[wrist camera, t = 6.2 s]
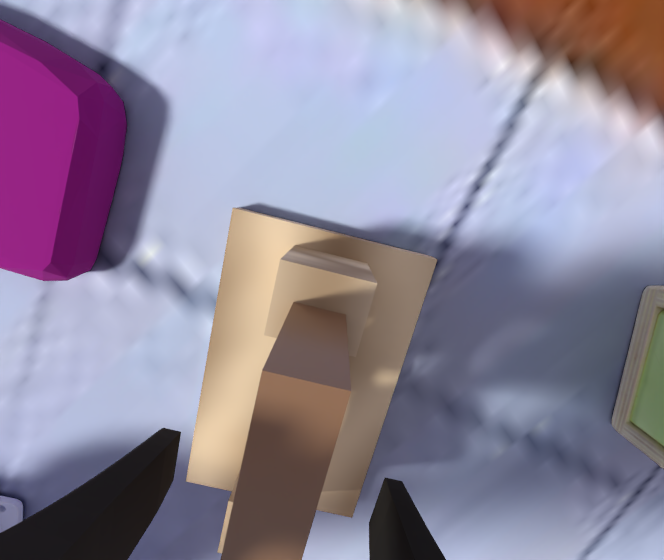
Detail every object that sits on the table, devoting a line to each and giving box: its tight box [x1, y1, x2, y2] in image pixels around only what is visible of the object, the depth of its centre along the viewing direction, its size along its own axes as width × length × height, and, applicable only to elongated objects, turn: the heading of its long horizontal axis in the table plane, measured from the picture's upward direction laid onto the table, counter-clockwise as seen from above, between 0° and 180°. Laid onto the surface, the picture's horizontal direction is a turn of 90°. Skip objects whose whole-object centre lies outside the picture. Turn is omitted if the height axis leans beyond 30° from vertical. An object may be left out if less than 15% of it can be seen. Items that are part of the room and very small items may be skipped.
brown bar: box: [221, 302, 351, 560], centre depth 11 cm, size 2×12×5 cm, turn 166°
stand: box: [186, 208, 437, 553], centre depth 16 cm, size 10×16×5 cm, turn 166°
